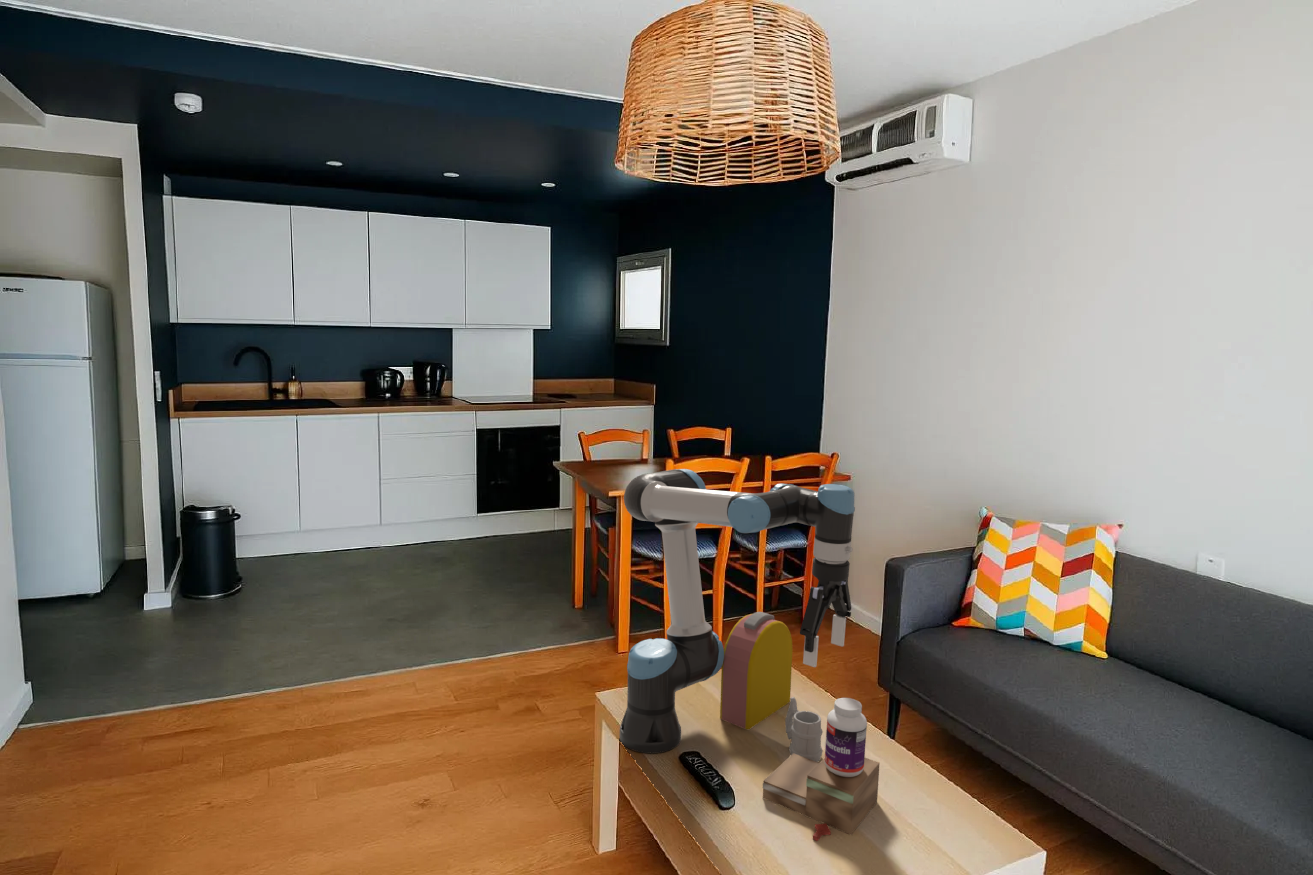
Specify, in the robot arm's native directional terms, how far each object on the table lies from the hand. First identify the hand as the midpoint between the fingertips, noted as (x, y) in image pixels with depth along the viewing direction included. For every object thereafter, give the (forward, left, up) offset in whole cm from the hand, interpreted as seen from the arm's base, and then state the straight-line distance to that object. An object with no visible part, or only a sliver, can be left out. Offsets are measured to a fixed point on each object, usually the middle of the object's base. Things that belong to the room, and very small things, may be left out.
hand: (824, 654), depth 167 cm
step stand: (+2, -6, -31) cm, 32 cm away
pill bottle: (+7, -3, -22) cm, 24 cm away
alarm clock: (-29, +24, -31) cm, 49 cm away
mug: (-10, +12, -31) cm, 35 cm away
